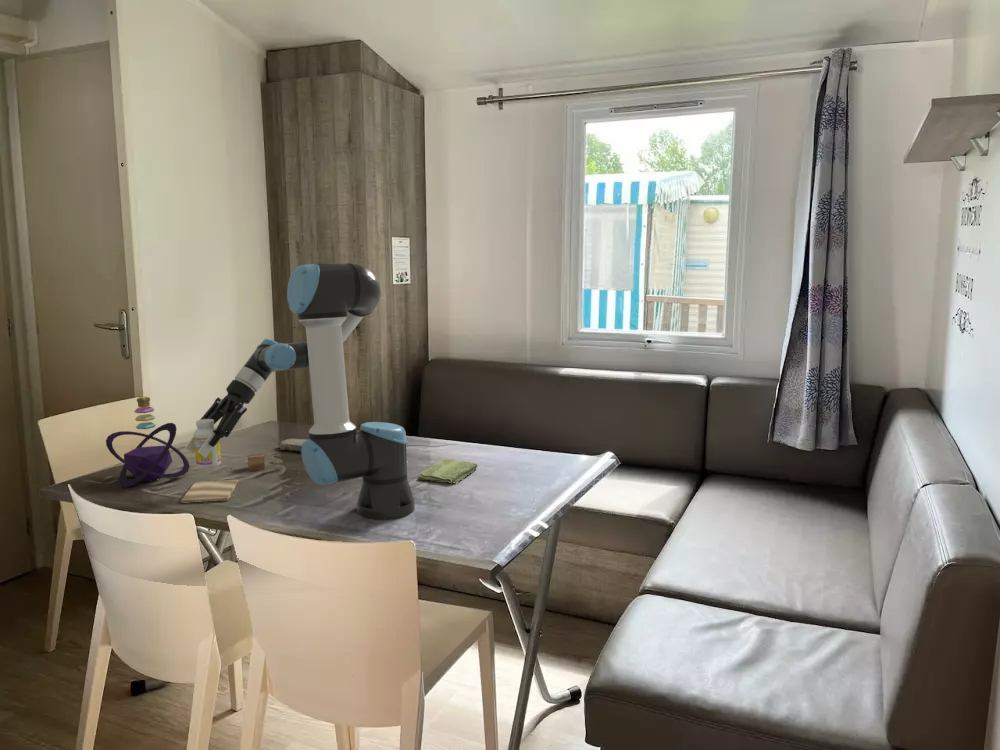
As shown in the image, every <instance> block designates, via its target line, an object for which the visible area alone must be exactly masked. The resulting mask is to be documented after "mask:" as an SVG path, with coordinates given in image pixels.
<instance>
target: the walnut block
mask: <svg viewBox="0 0 1000 750" xmlns="http://www.w3.org/2000/svg"><path fill="white" fill-rule="evenodd" d="M247 465H248V467H249V468H248V470H250V471H249V472H255V471H254V470H258V471H265V470H264V469H266V467H265V465H266V463H265V455H264V453H263V452H255V453H254V452H253V453H247Z"/></svg>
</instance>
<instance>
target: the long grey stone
mask: <svg viewBox="0 0 1000 750" xmlns="http://www.w3.org/2000/svg"><path fill="white" fill-rule="evenodd" d="M306 440H307V439H305V438H287V439H285V440H281V442H279V449H280V451H293V452H297V451H299V453H301V448H302V444H303V442H304V441H306Z"/></svg>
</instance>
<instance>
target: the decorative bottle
mask: <svg viewBox="0 0 1000 750" xmlns="http://www.w3.org/2000/svg"><path fill="white" fill-rule="evenodd" d="M136 402H137V408H136V409H135V410H134V414H135V413H136V414H139V415H138V416H137V417H136V418H135V419H134V421H136V422H140V423H139V424H137V425H136V426H135V429H137V430H149V429H153V428H155V427H156V426H157V424H155V423H153V422H151V421H152V420H155V419H156V417H155V416H154V415H152V414H149V413H152V412H154V411H155V408H153V407H152V406H150V404H151V403H150V402H151V397H149V396H139V397H137V398H136ZM163 431H168V433H169V437H168V441H167V442H166V441H165V440H162V439H161V438H157V437H156V436H155V435H157V434H158V433H161V432H163ZM124 435H125V436H126V435H128V436H129V435H131V436H132V435H133V436H139V437H140V436H141V437H144V438H143V440H142V441H141V442H139V444H138V445H137V446H136V447H135V448H134V449H131V450H130V451H128V452H125V453H124V454H123V458H122V457H121V456H120V454H118V453H117V452H116V450H115V449H114V446H113V441H114V440H115V439H116V438H118V437H120V436H121V437H122V436H124ZM176 435H177V425H176V424H175V423H174V422H167V423H165V424H162V425H161V426H159V427H157V428H156V429H154V430H153V431H152V432H150V433H149V434H145V433H142V432H138V431H136V432H135V431H129V430H128V431H127V430H126V431H120V430H119V431H116V432H112V433H111V434H110V435H108V436H107V437H106V440H105V445H106V447H107V450H108V451H109V453H111V455H112V456H113V457H114V458H115V459H116V460H118V461H119V462H121V463H123V464H124V465H123V466H122V468H121V471H120V472H119V473H120V474H119V477H118V484H119V486H120V487H121V488H125V489H126V488H130V487H131V486H133V487H134V485H136V484H138V483H139V482H143V483H145V482H144V481H147V482H151V481H150V480H155V481H158V480H157V479H159V480H160V479H161V478H178V477H182V476H185V475H186V474H187V473H188V472H189V470H190V463H189V460H188V459H187V457H186V456H185V455H184V453H182V452H181V451H180V450H179V449H178V448H176V447H175V446H173V442H174V440H175V437H176ZM150 439H151V440H154V441H156V442H159V443H160V444H162V445H153V446H144V445H145V444H146V443H147V442H148V441H149V440H150ZM170 449H171V450H173V451H174V452H175V453H176V454H177V455H178V456H179V458H180V459H181V460H182V463H183V467H182V468H181V470H179V471H177V472H174V473H166V471H167V470H168V469H169V467H170V465H171V464H172V463H173V458H172V455H171V451H170ZM127 471H129V473H131V474H132V475H133V476H134V478H127Z"/></svg>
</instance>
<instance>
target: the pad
mask: <svg viewBox="0 0 1000 750" xmlns="http://www.w3.org/2000/svg"><path fill="white" fill-rule="evenodd" d="M237 483H238V484H239V480H238V479H226V480H224V479H223V480H208V481H206V480H205V481H194V483H193V484H192V485H191V487H190V488H189V489H188V491H186V493H185V494H184V495H183V497H182V498H181V500H180V504H181V503H184V502H192V501H193V502H195V501H201V502H202V501H221V502H227V501H226V500H228V501H229V499H230V498H231V496H232V494H233V493H234V491H235V489H236V488H237V486H238V484H237ZM236 485H237V486H236ZM235 487H236V488H235ZM234 488H235V489H234ZM233 490H234V491H233ZM232 492H233V493H232ZM231 493H232V494H231ZM230 495H231V496H230ZM228 498H229V499H228Z"/></svg>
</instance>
